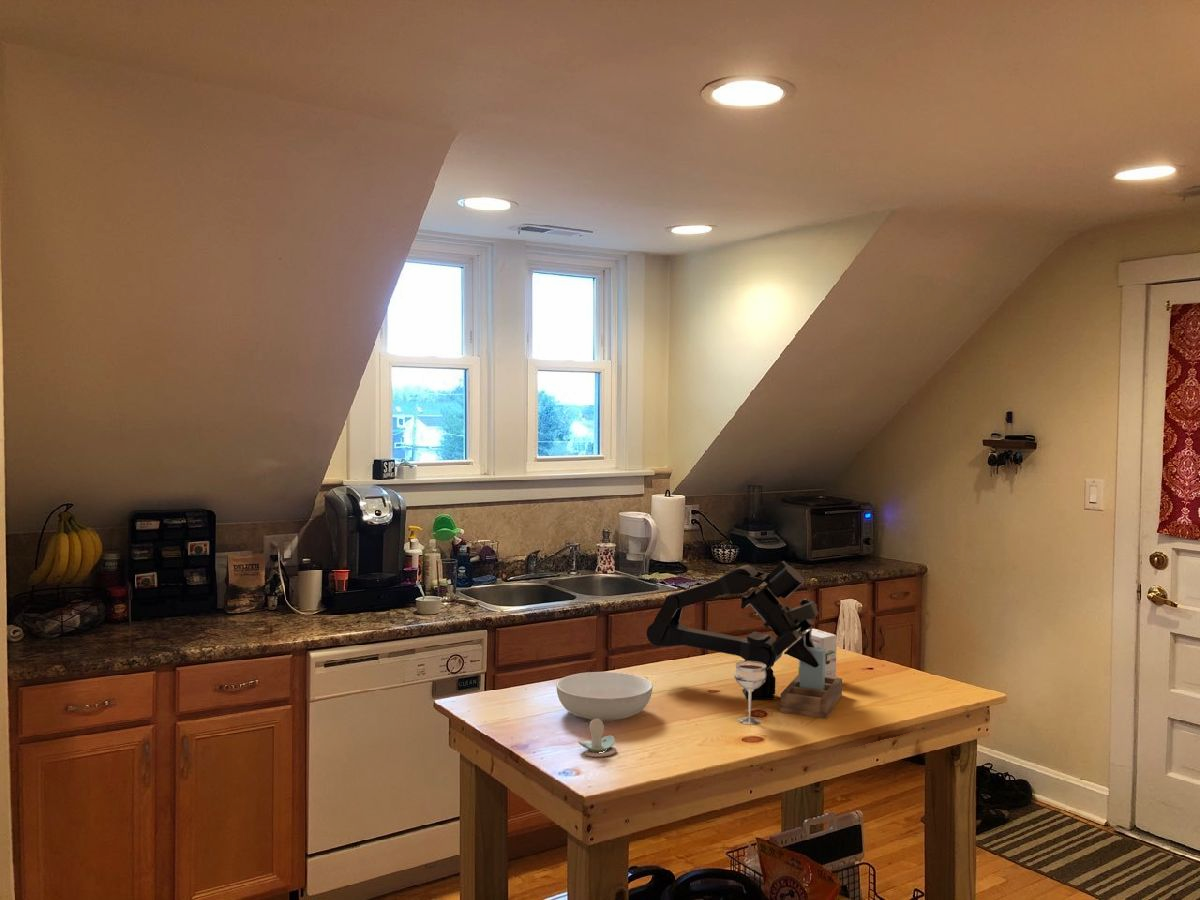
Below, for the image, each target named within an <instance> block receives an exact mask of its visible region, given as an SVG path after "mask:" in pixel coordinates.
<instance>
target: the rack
mask: <svg viewBox="0 0 1200 900" xmlns="http://www.w3.org/2000/svg"><path fill="white" fill-rule="evenodd" d="M842 696H843V678H840V677H836V678H835V677H827V676H825V690H818V689H810V688H803V687H800V673H799V674H797V675H796V676H795V677H794V678H793V679H792V680H791V682H790V683H789V684H788V685H787V686H786V687H785V688H784V689H783V690H782V692H780V698H779V699H780V701H779V702H780V703H779V705H780V707H779V713H783V714H784V713H786V714H792V715H796V716H797V715H798V716H807V717H811V718H812V717H813V718H819V719H827V718H828V716H829V715H830V713H831V712H832V711H833V709H834V708H835V706H836V705H837V703H838V702H839V700H840V699H841V697H842Z"/></svg>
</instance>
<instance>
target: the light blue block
mask: <svg viewBox="0 0 1200 900" xmlns="http://www.w3.org/2000/svg"><path fill="white" fill-rule="evenodd" d="M808 648H809V650H810V651H811V653H812V654H813V656H814V657H815V659H816V660H817V662H818V664H819V666H817V667H816V668H815V667H813V666H811V665H809V664H806V663H804V662H802V661H800V687H803V688H810V689H818V690H825V653H826V649H823V648H814V647H808Z"/></svg>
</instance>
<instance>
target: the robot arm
mask: <svg viewBox="0 0 1200 900" xmlns="http://www.w3.org/2000/svg"><path fill="white" fill-rule="evenodd" d="M804 582H805V581H804V578H803V576H802V575H801V573H800V572H799V571H798V570H797V569H795V568H794V567H793V566H791V565H789V564H788V563H787V562H786V561H785V560H783V561H781V562H779V563H778V564H777V565H776V567H775V568H774V569H773V570H772V571H771V572H770V573H766V572H763V571H759V570H757V569H756V568H755V567H753V566H752V565H749V564H746V565H745V564H744V565H742V566H740V567H738V568H735V569H733V570H731V571H729V572H727V573H726V574H724V575H722V576H720V577H719V578H716V579H714V580H711V581H708V582H705V583H702V584H699V585H697V586H694V587H690V588H687V589H684V590H682V591H676V592H673V593H670V594H669V595H667V596H666V597H665V599H664V602H663V603H662V606H661V608H660V609H659V611H658V612H657V614H656V615H655V618H654V619H653V622H652V623H651V624H650V625H649V626H648V627H647V629H646V637H647V640H648V641H649V643H650V644H651V645H652V646H654V647H663V648H664V647H676V646H677V647H678V646H685V647H690V648H695V649H699V650H700V649H701V650H707V651H711V652H717V653H722V654H726V655H731V656H738V657H739V658H740V657H741V658H742V659H743V661H756V662H761V663H764V664H765V665H766V668H765V671H766V680H765V682H764V684H763V685H761V686H760V687H759V688H757V689H754V691H753V692H752V699H751V700H775V694H776V678H777V677H775V674H774V670H773V667H774V665H775V663H776V662H777V661H779V660H780V658H781V657H782V656H783V654H784V655H787V656H790V657H792V658H794V659H796V660H797V661H799V660H800V661H802V662H804V663H806V664H809V665H811V666H813V667H815V668H816V667H817V666H819V664H818V662H817V660H816V659H815V657H814V656H813V654H812V653H811V651H810V650H809V648H808V647H814V648H815V646H814V644H813V642H812V640H811V632H812V629H813V628H811V627H813V625H814V624H815V622H814V620H812V619H815V618H816V617H817V616H819V614H820V613H819V611H818V608H817V606H818V605H817V603H815V602H814V600H812V601H811V600H810V599H809V597H807V598H804V599H802V600H800V602H799V605H798V606H796V607H794V608H792V607H791V606H790V605H788V604H786V605H784V604H783V603H782V602H781V601H780V600H779V599H780V598H783V599H787V598H788V597H790V596H791V595H792V594H793V593H794V592H795V591H796V590H798V589H799V588H800V587H801V586H802V585H803V584H804ZM764 584H766V585H765V586H764V587H762V589H758V588H759V587H760V586H763V585H764ZM752 589H753V591H751V592H750V590H752ZM748 591H749V592H750V593H749V594H748V595H742V596H741V597H740V600H741V604H740V609H742V610H743V609H745V608H747V607H748V606H751V608H752V609H753V610H754V611H755V612H756V614H758V615H759V617H760V618H761V619H762V621H764V623H763V625H764V627H765V628H768V627H769V628H770V630H771V631H772V632H773V633H774V634H775V635H776V636H777V637H774V636H772V633H761V632H760V631H754V630H753V632H751V633H750V634H748V635H747V636H746V637H742V636H741V637H740V636H737V635H735V636H734V635H729V634H725V633H719V632H715V631H710V630H709V631H708V630H703V629H697V628H691V627H688V626H687V625H685V624H684V623H682V622H680V620H681V617H682V612H683V608H684V607H688V606H690V605H694V604H697V603H700V602H703V601H706V600H709V599H713V598H715V597H718V596H727V595H737V594H744V593H747V592H748ZM809 629H810V630H809ZM806 630H809V631H808V632H807V631H806ZM741 691H742V694H743V696H744V697H745V699H747V700H748V691H747V690H746V689H745V688H742V690H741Z"/></svg>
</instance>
